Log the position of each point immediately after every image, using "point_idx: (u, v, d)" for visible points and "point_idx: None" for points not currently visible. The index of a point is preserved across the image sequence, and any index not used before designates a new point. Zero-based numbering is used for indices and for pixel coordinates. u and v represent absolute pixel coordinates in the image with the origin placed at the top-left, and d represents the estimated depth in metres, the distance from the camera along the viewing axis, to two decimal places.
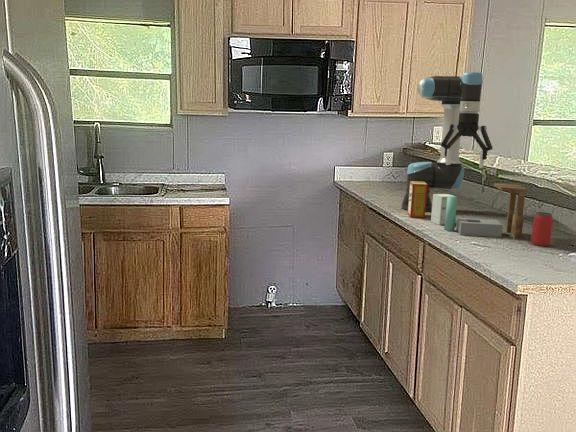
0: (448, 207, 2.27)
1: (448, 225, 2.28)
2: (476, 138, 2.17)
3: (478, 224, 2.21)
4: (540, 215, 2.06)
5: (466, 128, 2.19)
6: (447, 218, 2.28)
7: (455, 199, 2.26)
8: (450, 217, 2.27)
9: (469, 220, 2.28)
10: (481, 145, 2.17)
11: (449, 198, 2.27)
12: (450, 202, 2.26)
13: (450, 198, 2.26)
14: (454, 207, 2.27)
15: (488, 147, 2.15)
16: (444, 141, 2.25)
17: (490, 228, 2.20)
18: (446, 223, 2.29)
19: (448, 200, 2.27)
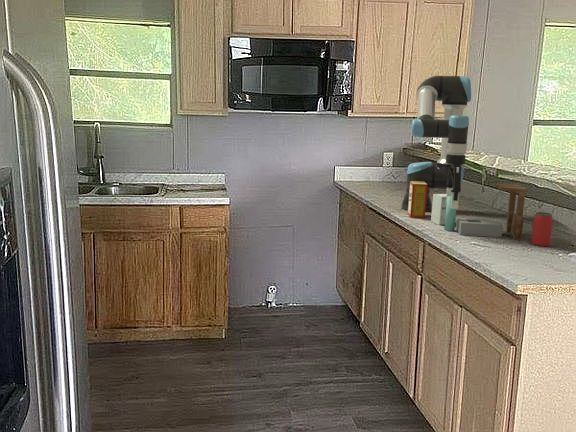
0: (448, 207, 2.27)
1: (448, 225, 2.28)
2: (452, 179, 2.22)
3: (478, 224, 2.21)
4: (540, 215, 2.06)
5: (451, 169, 2.26)
6: (447, 218, 2.28)
7: None
8: (450, 217, 2.27)
9: (469, 220, 2.28)
10: (453, 186, 2.20)
11: (449, 198, 2.27)
12: (450, 202, 2.26)
13: (450, 198, 2.26)
14: None
15: (453, 188, 2.18)
16: (447, 180, 2.35)
17: (490, 228, 2.20)
18: (446, 223, 2.29)
19: (448, 200, 2.27)
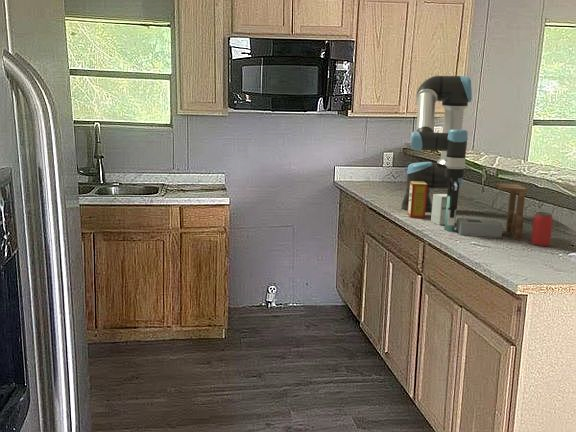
0: (448, 207, 2.27)
1: (448, 225, 2.28)
2: (450, 194, 2.25)
3: (478, 224, 2.21)
4: (540, 215, 2.06)
5: None
6: (447, 218, 2.28)
7: None
8: None
9: (469, 220, 2.28)
10: None
11: (449, 198, 2.27)
12: None
13: None
14: None
15: (450, 206, 2.24)
16: None
17: (490, 228, 2.20)
18: (446, 223, 2.29)
19: (448, 200, 2.27)
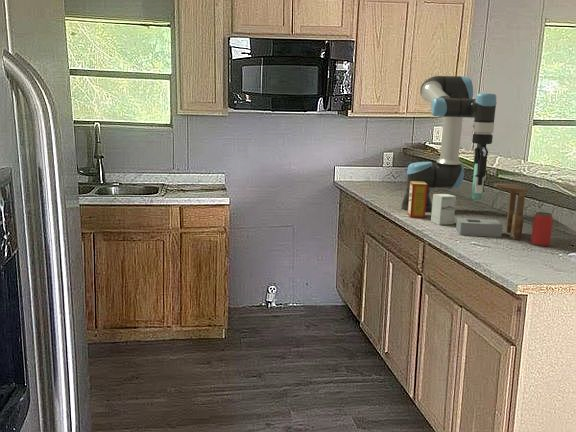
0: None
1: (475, 193, 2.22)
2: (478, 161, 2.19)
3: (478, 224, 2.21)
4: (540, 215, 2.06)
5: None
6: (474, 186, 2.21)
7: None
8: None
9: (469, 220, 2.28)
10: (477, 170, 2.19)
11: (477, 165, 2.20)
12: None
13: None
14: None
15: (478, 172, 2.17)
16: None
17: (490, 228, 2.20)
18: (473, 191, 2.22)
19: (476, 167, 2.20)
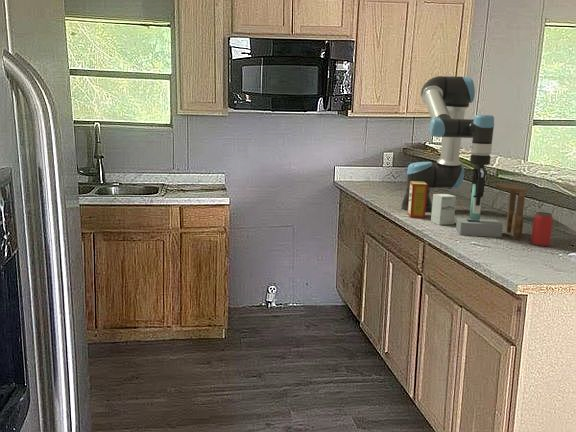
0: (474, 195, 2.22)
1: (473, 214, 2.23)
2: (476, 182, 2.20)
3: (478, 224, 2.21)
4: (540, 215, 2.06)
5: None
6: (472, 206, 2.23)
7: None
8: None
9: (469, 220, 2.28)
10: (475, 190, 2.20)
11: (475, 186, 2.21)
12: None
13: None
14: None
15: (476, 193, 2.18)
16: None
17: (490, 228, 2.20)
18: (471, 211, 2.24)
19: (474, 188, 2.22)
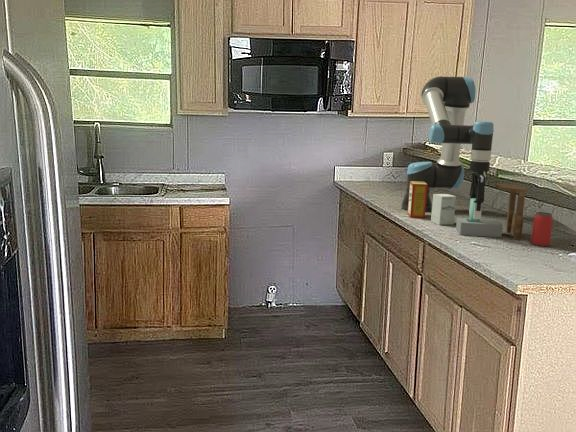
0: (472, 209, 2.23)
1: None
2: (476, 187, 2.20)
3: (478, 224, 2.21)
4: (540, 215, 2.06)
5: (475, 176, 2.22)
6: (471, 221, 2.24)
7: None
8: (474, 219, 2.23)
9: None
10: (476, 196, 2.19)
11: (473, 200, 2.23)
12: (474, 204, 2.22)
13: (474, 200, 2.22)
14: None
15: (477, 199, 2.17)
16: (470, 190, 2.30)
17: (490, 228, 2.20)
18: None
19: (472, 202, 2.23)
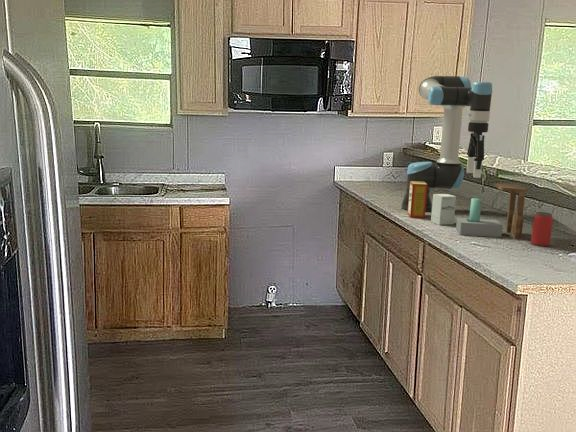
0: (472, 209, 2.23)
1: None
2: (475, 147, 2.18)
3: (478, 224, 2.21)
4: (540, 215, 2.06)
5: None
6: (471, 221, 2.24)
7: (479, 201, 2.22)
8: (474, 219, 2.23)
9: None
10: (475, 154, 2.16)
11: (473, 200, 2.23)
12: (474, 204, 2.22)
13: (474, 200, 2.22)
14: (478, 209, 2.23)
15: (477, 157, 2.14)
16: (468, 149, 2.31)
17: (490, 228, 2.20)
18: None
19: (472, 202, 2.23)
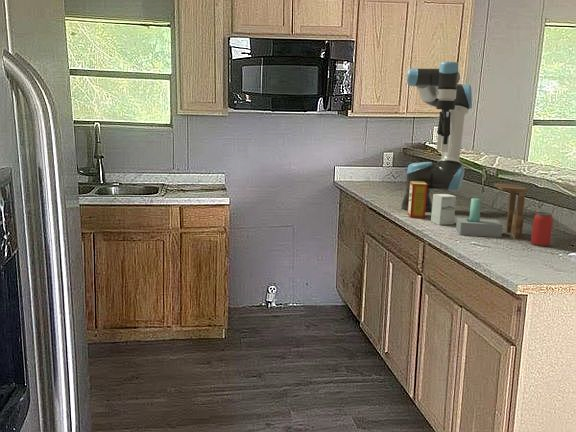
0: (472, 209, 2.23)
1: None
2: (442, 124, 2.30)
3: (478, 224, 2.21)
4: (540, 215, 2.06)
5: None
6: (471, 221, 2.24)
7: (479, 201, 2.22)
8: (474, 219, 2.23)
9: None
10: (442, 130, 2.29)
11: (473, 200, 2.22)
12: (474, 204, 2.22)
13: (474, 200, 2.22)
14: (478, 209, 2.23)
15: (443, 132, 2.26)
16: (438, 127, 2.43)
17: (490, 228, 2.20)
18: None
19: (472, 202, 2.23)
